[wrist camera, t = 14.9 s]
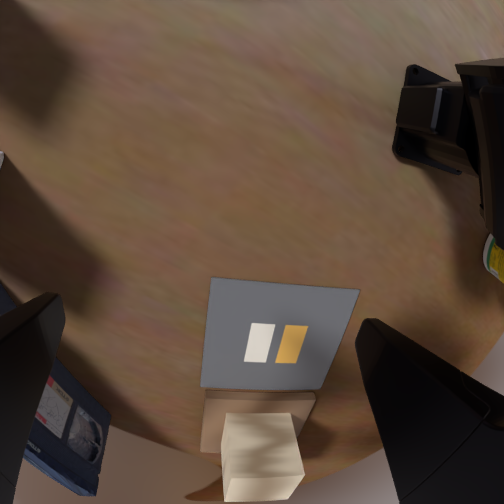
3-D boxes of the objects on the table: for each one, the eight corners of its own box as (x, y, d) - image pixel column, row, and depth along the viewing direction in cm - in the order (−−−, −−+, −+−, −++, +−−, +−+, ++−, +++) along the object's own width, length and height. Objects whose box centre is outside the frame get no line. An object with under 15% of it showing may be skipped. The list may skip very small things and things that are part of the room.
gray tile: (359, 289, 23) (360, 290, 23) (319, 388, 28) (320, 389, 28) (211, 276, 22) (211, 277, 22) (200, 385, 26) (200, 386, 26)
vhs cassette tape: (113, 415, 28) (97, 498, 19) (93, 418, 28) (75, 496, 19) (-3, 268, 20) (-71, 343, 11) (-20, 280, 20) (-83, 351, 11)
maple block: (290, 412, 27) (304, 474, 21) (277, 444, 30) (287, 499, 24) (226, 412, 27) (231, 478, 20) (220, 444, 29) (224, 501, 23)
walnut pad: (313, 392, 28) (315, 399, 27) (288, 445, 32) (289, 452, 31) (205, 389, 26) (205, 398, 25) (200, 444, 30) (200, 451, 29)
